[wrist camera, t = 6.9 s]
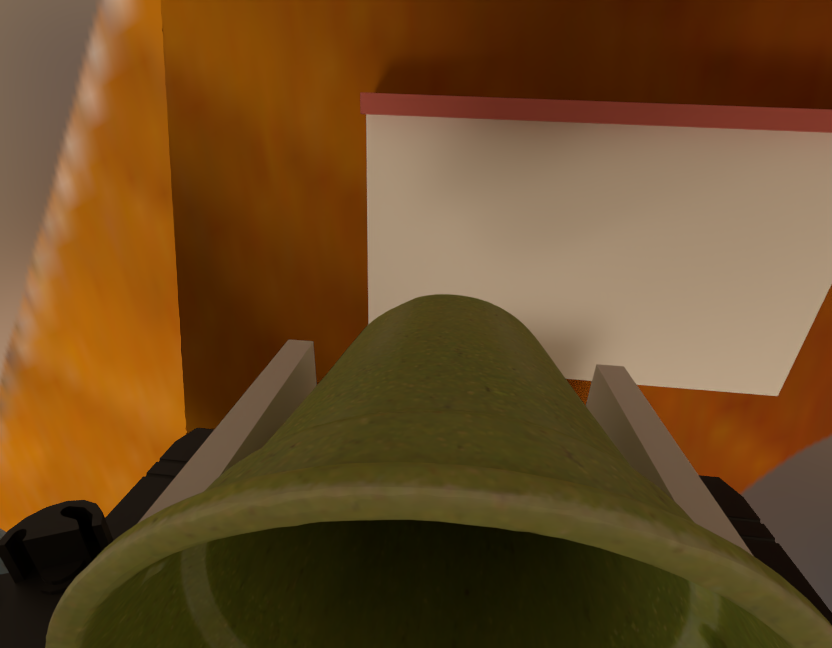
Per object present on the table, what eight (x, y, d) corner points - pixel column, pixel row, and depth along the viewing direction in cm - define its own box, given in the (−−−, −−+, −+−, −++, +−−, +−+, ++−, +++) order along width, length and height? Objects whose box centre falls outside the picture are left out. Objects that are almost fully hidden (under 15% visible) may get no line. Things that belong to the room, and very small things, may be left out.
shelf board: (373, 350, 26) (364, 373, 24) (372, 96, 20) (360, 92, 18) (760, 381, 25) (793, 409, 22) (880, 115, 19) (943, 113, 16)
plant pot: (667, 273, 11) (1212, 655, 3) (548, 522, 15) (646, 960, 7) (312, 196, 11) (-75, 372, 3) (290, 465, 15) (101, 837, 7)
